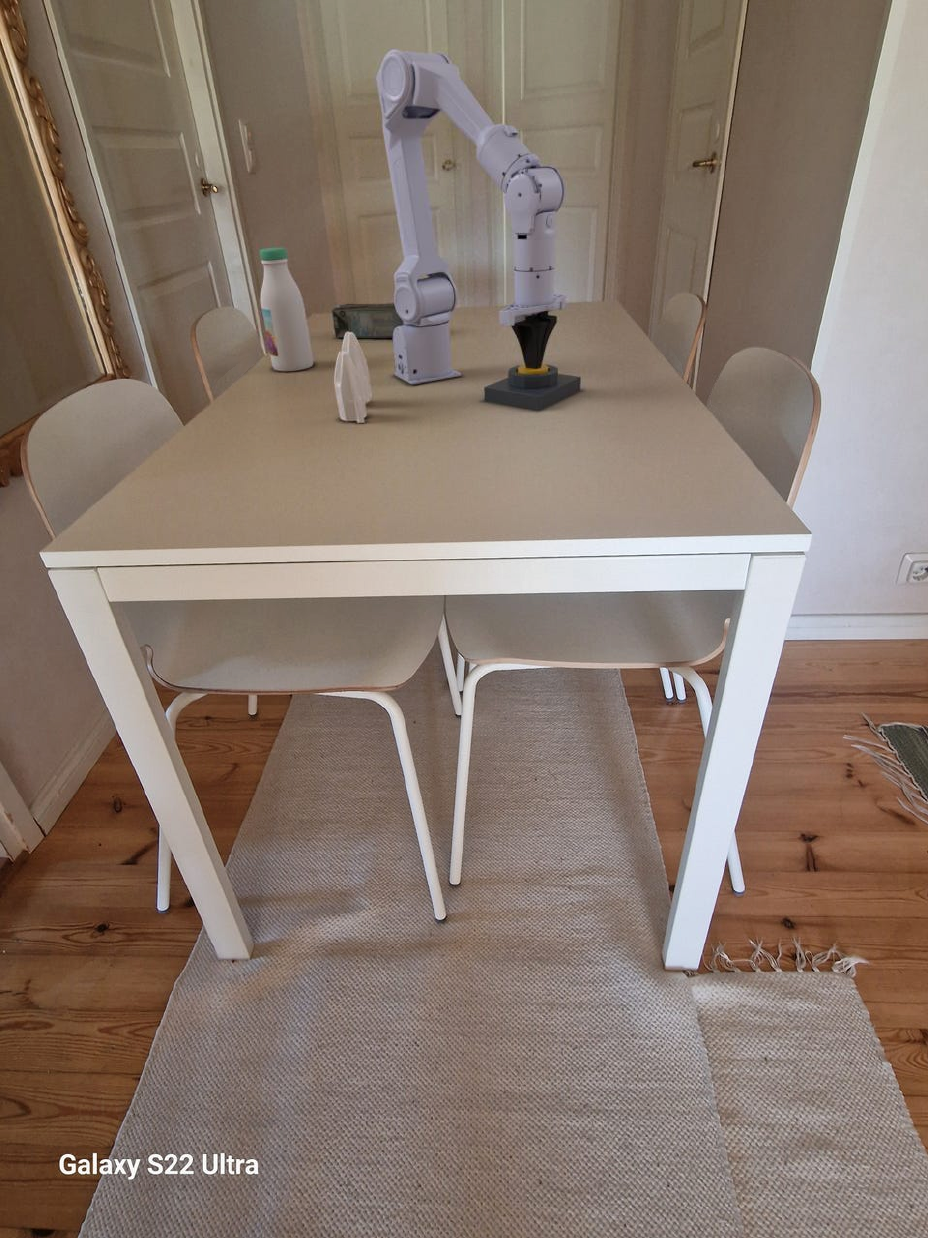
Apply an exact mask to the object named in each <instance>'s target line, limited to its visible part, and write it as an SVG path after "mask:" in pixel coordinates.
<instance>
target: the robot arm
mask: <svg viewBox="0 0 928 1238" xmlns="http://www.w3.org/2000/svg"><path fill="white" fill-rule="evenodd" d="M375 80H376V87H377V94H378V99H379V104H380V112H381V117H382V118H381V119H382V121H381V122H382V123H381V125H382V126H381V127H382V136H383V141H384V147H385V153H386V159H387V164H388V171H389V177H390V182H391V189H392V195H393V201H394V206H395V213H396V219H397V224H398V231H399V236H400V242H401V248H402V255H403V260H402V262H401V264H400V265H399V267H398V268H397V270H396V271H395V272H394V274H393V282H394V292H393V303H394V304H395V308H396V311H397V313H398V315H399V316H400V318H401V319H402V320H403V324H405V325H403V326H398V327H396V328H395V329H394V331H393V338H392V345H393V356H394V364H395V365H394V368H395V372H394V376H396V377H397V378H399V379H400V380H403V381H404V382H406V383H408V384H410V385H418V384H425V383H429V382H435V381H441V380H447V379H453V378H457V377H461V376H462V373H461V372H459V371H457V370H455V369H453V368H452V367H453V366H452V349H451V347H452V346H451V333H450V331H451V330H450V320H452V319H453V316H452V313H453V312H454V311H455V310H456V308H457V306H458V302H459V293H458V288H457V285H456V283H455V282H454V280H453V277H452V272H451V267H450V265H449V264H448V263H447V262H446V260H444V259H443V258H442V257H441V256H440V255H439V253H438V248H437V243H436V235H435V228H434V221H433V214H432V209H431V200H430V193H429V187H428V180H427V173H426V166H425V160H424V154H423V153H424V152H423V146H422V136H423V134H424V132H425V131H426V128H427V127H429V125H431V123H433V122H434V120H435V119H436V118H437V117H438V116H439V115H440V113H441V112H442V113H443V115H445V116H446V117H447V118H448V119H449V120H450V121H451V122H452V123H453V124H454V125H455V126H456V127H457V128H458V129H459V130H460V132H462V133H463V134H464V135H465V136H466V137H467V139H469V141H470V142H471V143H472V144H473V145H474V146H475V147H476V152H475V155H476V157H475V158H476V161H477V163H478V164H479V166H480V167H481V168H482V169H483V170H484V171H485V173H486V174H487V175H488V177H490V179H492V181H493V182H494V183H495V184H496V186H497V187H498V188H499V189H500V191H502V193H503V200H504V206H505V209H506V211H507V213H508V214H509V217H510V223H511V224H510V229H511V230H512V232H513V302H512V303H510V304H509V305H508V306H506V307H505V308H502V309H500V310H499V312H498V313H499V314H498V316H499V318H498V319H499V322H498V323H499V326H503V327H505V326H506V327H511V329H512V330H513V332H514V334H515V337H516V338H517V341H518V344H519V347H520V350H521V354H522V358H523V363H524V365H525V367H526V368H531V369H538V368H540V367H541V365H542V364H543V362H544V357H545V353H546V350H547V346H548V342H549V339H550V337H551V335H552V332H553V330H554V329H555V327H556V325H557V323H558V317H557V315H552V314H549V313H551V312H553V311H558V310H560V311H561V310H565V309H566V297H567V296H566V294H557V293H555V259H556V257H555V255H556V213H557V212H558V211H559V210H560V209H561V207H562V205H563V203H564V200H565V195H566V187H565V181H564V179H563V177H562V175H561V174H560V172H559V170H558V168H557V167H555V166H552V165H542V163H541V162H540V157H539V156H538V155H537V154H536V153H532V152H531V151H530V150H529V149H528V147H527V146H526V145H525V144H524V143H523V142H522V140H521V139H520V138H519V137H518V135H519V130H518V129H517V128H516V127H515V126H514V125H507V124H506V123H497V124H495V123H494V121H492V119H491V118H490V116H489V115H488V114H487V113H486V111H485V109H484V108H483V107H482V106H481V104H480V103H479V101H478V100H477V99H476V98H475V96H474V95H473V93H472V92H471V91H470V89H469V88H468V87H467V85H466V84H465V83H464V82H463V80H462V78H461V74H460V69H459V68H458V66H457V65H455V64H454V63H453V62H452V61H451V59H450V58H449V56H447V55H446V53H445V54H444V53H443V52H434V53H431V52H430V53H428V52H418V51H417V52H416V51H406V50H405V51H404V50H401V49H396V48H394V49H391V50H389V51H388V52H387V53H386V54H385V55H384V57H383V59H382V61H381V64H380V66H379V69H378V72H377V74H376V77H375ZM422 276H427V277H424V278H420V277H422Z"/></svg>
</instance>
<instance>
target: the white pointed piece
mask: <svg viewBox="0 0 928 1238" xmlns="http://www.w3.org/2000/svg"><path fill="white" fill-rule="evenodd" d="M333 377H334V378H333V384H334V385H333V386H334V393H335V397H336V404H337V409H338V414H339V417H340V419H341V420H342V421H345V422H353V421H354V422H357V423H358V424H362V423H366V421H365V418H366V417H367V416H368V412H367V407H366V405H367V404H368V403H369V402H371V400H372V398H373V392H372V385H371V379H370V373H369V366H368V361H367V359H366V356H365V354H364V352H363V350H362V348H361V345H360V343H359V341H358V338H356V337H355V335H354V333H352V332H346V333H345V336H344V338H343V341H342V346H341V351H339V352H338V354H337V358H336V362H335V367H334V376H333Z"/></svg>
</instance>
